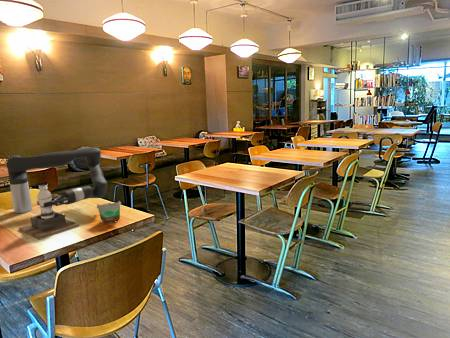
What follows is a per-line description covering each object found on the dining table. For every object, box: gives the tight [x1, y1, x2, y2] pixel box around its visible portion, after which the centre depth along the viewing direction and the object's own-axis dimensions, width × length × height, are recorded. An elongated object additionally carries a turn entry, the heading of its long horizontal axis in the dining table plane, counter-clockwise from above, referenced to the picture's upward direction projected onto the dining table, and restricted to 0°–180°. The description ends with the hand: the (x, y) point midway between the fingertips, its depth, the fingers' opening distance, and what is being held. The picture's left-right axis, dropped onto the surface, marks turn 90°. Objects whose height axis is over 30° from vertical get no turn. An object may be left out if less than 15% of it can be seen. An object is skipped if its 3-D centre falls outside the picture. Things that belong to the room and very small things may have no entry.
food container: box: [96, 200, 122, 224], centre depth 180 cm, size 12×6×10 cm, turn 117°
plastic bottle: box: [36, 184, 55, 220], centre depth 172 cm, size 6×7×20 cm
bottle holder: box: [18, 210, 80, 240], centre depth 174 cm, size 22×20×6 cm
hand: (40, 204), depth 170 cm, fingers closed on plastic bottle, 6 cm apart
